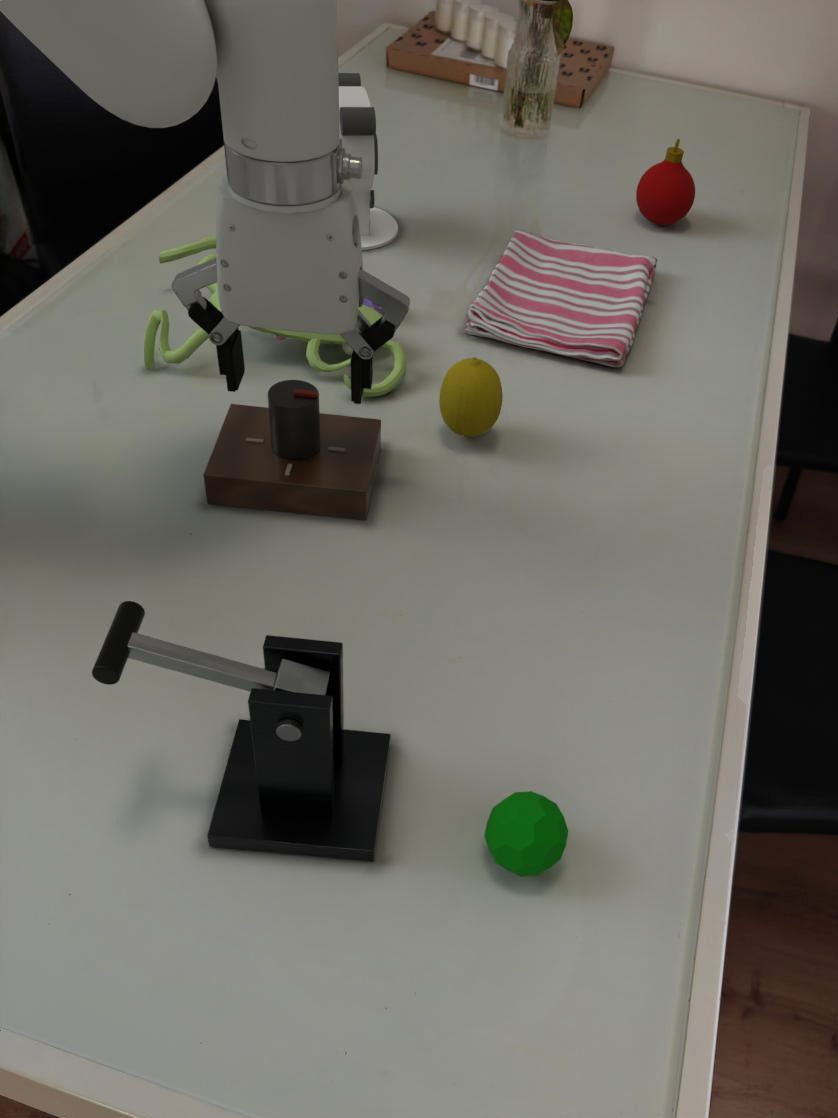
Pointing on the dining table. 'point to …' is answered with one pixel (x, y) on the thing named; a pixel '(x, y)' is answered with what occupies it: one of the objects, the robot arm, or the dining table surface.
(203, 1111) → the dining table surface
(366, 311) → the figurine
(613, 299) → the dish towel
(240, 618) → the dining table surface
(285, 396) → the valve knob
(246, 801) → the black lever base
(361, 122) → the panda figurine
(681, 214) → the christmas ornament
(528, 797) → the polyhedron
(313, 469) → the panel
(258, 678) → the tap lever
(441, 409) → the lemon
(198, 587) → the dining table surface
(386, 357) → the dining table surface
